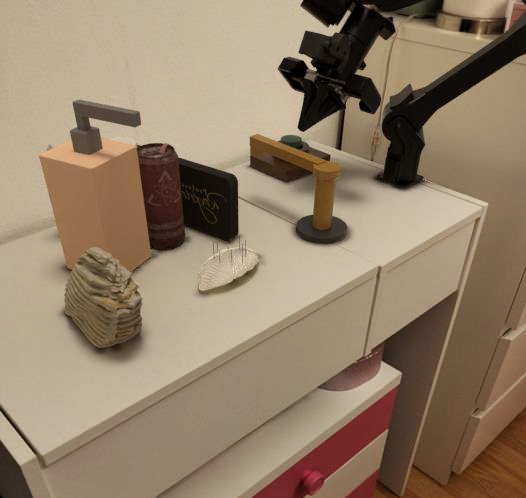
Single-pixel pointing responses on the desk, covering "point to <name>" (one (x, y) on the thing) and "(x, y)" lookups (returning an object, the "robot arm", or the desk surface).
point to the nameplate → (209, 199)
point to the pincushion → (226, 266)
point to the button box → (285, 164)
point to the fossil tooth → (103, 299)
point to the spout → (295, 157)
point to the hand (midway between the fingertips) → (300, 130)
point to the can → (161, 194)
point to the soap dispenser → (98, 189)
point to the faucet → (322, 217)
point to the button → (292, 141)
